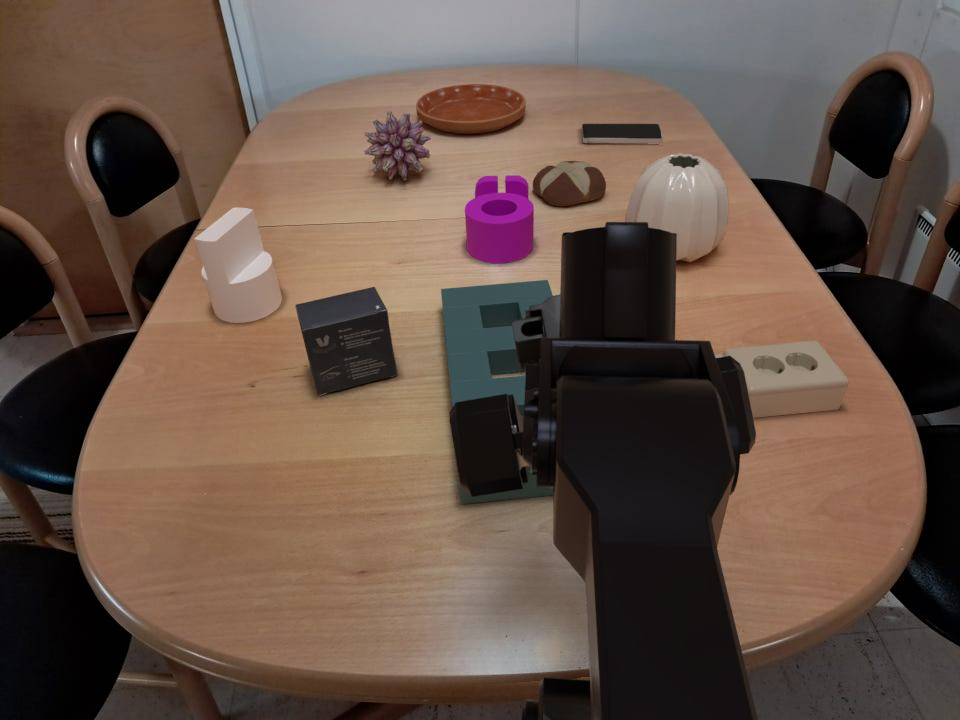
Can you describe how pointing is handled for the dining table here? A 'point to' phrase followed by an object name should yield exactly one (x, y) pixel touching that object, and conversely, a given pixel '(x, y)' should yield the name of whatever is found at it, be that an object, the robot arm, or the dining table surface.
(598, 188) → the bread
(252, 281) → the base with upright slab
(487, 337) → the teal three-hole plate
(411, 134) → the flower
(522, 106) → the saucer
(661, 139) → the smartphone
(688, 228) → the vase
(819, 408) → the electrical outlet
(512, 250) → the magenta slotted-back ring holder
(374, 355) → the box
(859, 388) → the dining table surface
